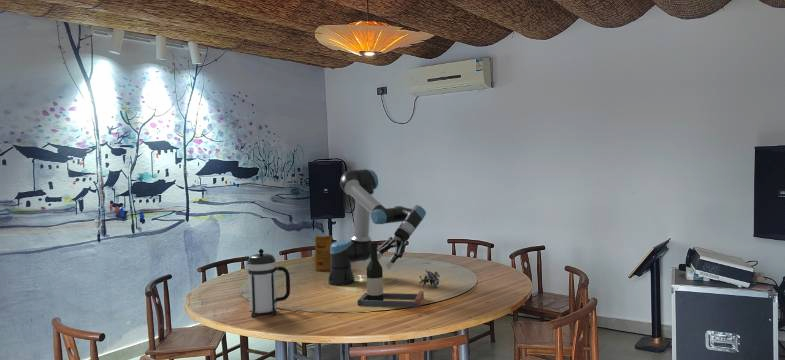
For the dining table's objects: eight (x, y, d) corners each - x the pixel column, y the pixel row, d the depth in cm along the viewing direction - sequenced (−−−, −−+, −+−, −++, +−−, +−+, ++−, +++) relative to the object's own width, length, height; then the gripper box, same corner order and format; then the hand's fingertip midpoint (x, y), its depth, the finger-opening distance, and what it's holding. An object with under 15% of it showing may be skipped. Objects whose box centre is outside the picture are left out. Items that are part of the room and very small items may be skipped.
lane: (357, 305, 255) (357, 297, 254) (365, 297, 269) (365, 289, 269) (419, 307, 249) (419, 298, 249) (423, 298, 264) (423, 290, 263)
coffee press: (264, 319, 236) (262, 252, 234) (239, 315, 244) (237, 250, 243) (291, 310, 250) (289, 246, 249) (267, 305, 259) (265, 244, 258)
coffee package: (315, 268, 347) (314, 234, 346) (334, 267, 347) (333, 234, 346) (313, 271, 337) (312, 237, 336) (332, 270, 337) (331, 236, 336)
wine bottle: (386, 300, 263) (384, 240, 262) (380, 304, 255) (378, 242, 254) (370, 299, 266) (368, 239, 265) (364, 303, 258) (362, 242, 257)
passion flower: (436, 297, 286) (440, 283, 278) (417, 294, 286) (420, 279, 279) (438, 282, 294) (441, 267, 287) (418, 278, 295) (421, 264, 288)
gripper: (423, 239, 259) (398, 274, 251) (395, 234, 280) (372, 266, 272) (413, 229, 256) (388, 264, 248) (386, 225, 277) (362, 257, 269)
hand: (379, 265), depth 260 cm, fingers open, 13 cm apart
